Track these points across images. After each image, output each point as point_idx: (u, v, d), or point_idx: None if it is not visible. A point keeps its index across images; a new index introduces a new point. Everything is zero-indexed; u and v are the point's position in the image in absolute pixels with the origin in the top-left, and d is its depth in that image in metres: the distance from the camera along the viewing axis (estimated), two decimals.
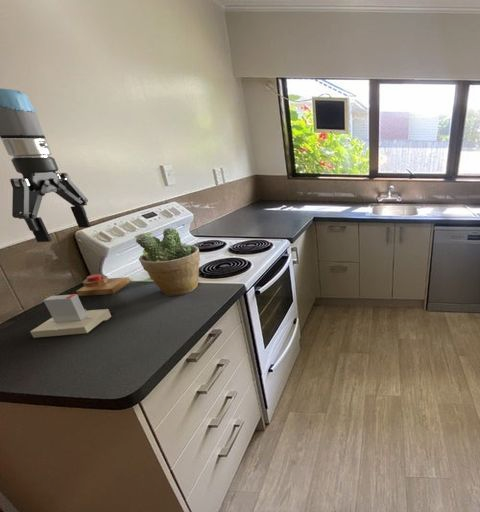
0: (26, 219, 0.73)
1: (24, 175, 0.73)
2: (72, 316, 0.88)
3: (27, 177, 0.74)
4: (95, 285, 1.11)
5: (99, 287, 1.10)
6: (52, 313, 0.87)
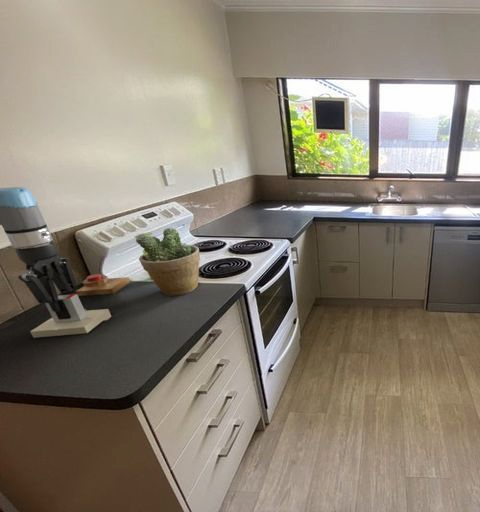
0: (50, 303, 0.83)
1: (27, 264, 0.78)
2: (72, 316, 0.88)
3: (30, 265, 0.78)
4: (95, 285, 1.11)
5: (99, 287, 1.10)
6: (52, 313, 0.87)
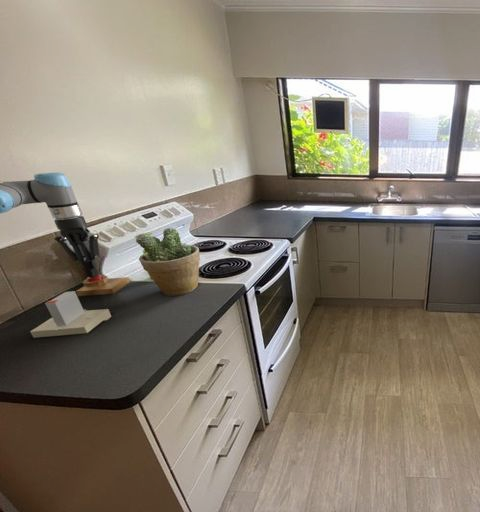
0: None
1: None
2: None
3: None
4: (95, 285, 1.11)
5: (99, 287, 1.10)
6: None
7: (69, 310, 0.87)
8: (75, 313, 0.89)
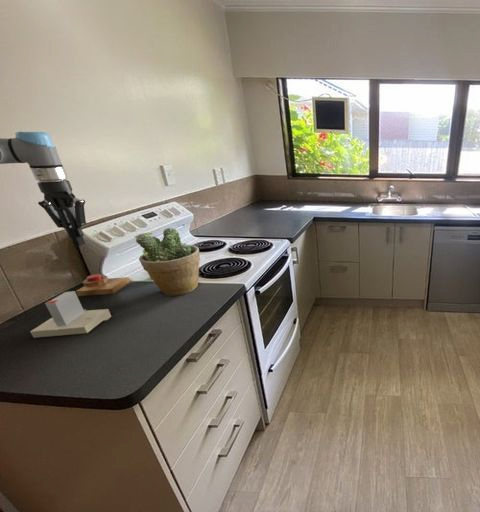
0: None
1: None
2: None
3: None
4: (95, 285, 1.11)
5: (99, 287, 1.10)
6: None
7: (69, 310, 0.87)
8: (75, 313, 0.89)
